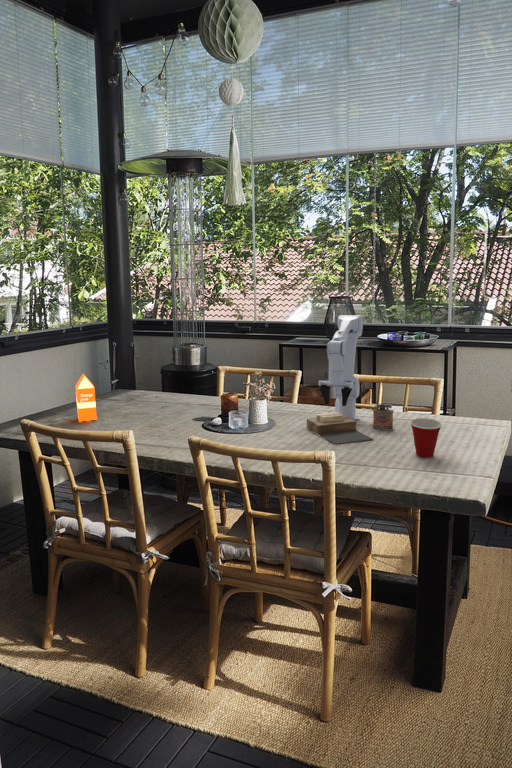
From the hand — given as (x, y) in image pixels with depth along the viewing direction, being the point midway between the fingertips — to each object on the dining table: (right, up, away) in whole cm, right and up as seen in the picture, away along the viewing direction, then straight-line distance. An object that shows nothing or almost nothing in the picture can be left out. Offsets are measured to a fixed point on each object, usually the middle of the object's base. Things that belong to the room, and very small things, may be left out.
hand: (335, 404), depth 264 cm
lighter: (+19, -10, +3) cm, 22 cm away
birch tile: (-2, -6, +2) cm, 7 cm away
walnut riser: (-2, -10, +2) cm, 10 cm away
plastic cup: (+27, -17, -34) cm, 46 cm away
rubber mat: (+3, -12, -10) cm, 16 cm away
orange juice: (-106, -7, +30) cm, 110 cm away
